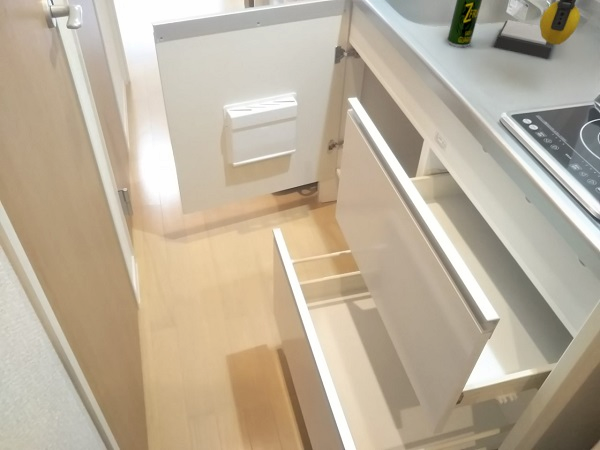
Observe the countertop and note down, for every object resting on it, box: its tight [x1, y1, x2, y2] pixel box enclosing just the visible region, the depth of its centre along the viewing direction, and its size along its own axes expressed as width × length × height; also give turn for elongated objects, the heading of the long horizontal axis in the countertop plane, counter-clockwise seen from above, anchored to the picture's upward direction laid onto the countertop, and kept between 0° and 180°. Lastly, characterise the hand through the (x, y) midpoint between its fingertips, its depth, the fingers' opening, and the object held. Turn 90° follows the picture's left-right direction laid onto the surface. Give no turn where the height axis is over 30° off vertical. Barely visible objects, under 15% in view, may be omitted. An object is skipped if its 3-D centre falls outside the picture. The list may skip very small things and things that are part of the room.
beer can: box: [447, 0, 483, 48], centre depth 118 cm, size 5×5×12 cm
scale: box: [494, 19, 554, 59], centre depth 122 cm, size 12×11×3 cm
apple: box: [539, 0, 581, 46], centre depth 95 cm, size 6×6×8 cm
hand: (558, 22), depth 95 cm, fingers closed on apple, 6 cm apart
